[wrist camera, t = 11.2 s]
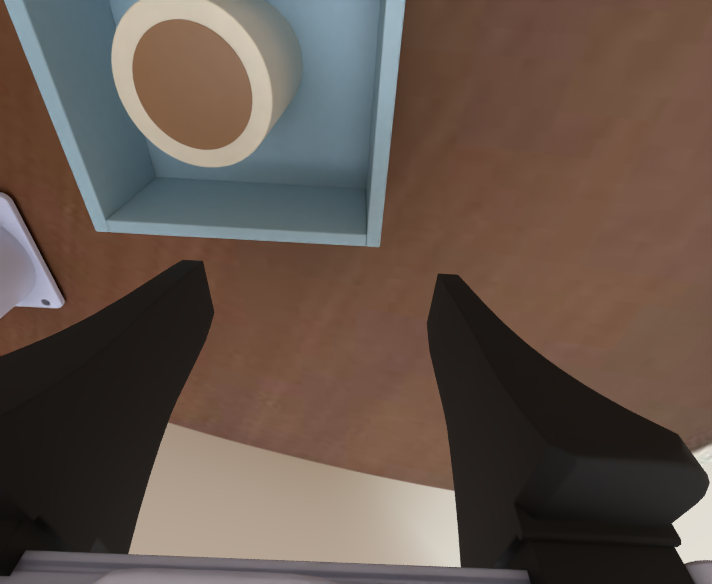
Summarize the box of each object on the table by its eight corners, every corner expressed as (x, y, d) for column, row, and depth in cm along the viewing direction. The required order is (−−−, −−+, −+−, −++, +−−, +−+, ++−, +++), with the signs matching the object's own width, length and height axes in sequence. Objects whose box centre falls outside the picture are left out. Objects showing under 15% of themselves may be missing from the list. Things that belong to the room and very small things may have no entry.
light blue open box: (151, 183, 21) (95, 231, 16) (58, -154, 13) (-89, -228, 9) (376, 196, 21) (379, 247, 17) (405, -128, 14) (425, -189, 9)
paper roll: (206, 113, 18) (136, 164, 13) (186, -10, 15) (84, -16, 10) (304, 119, 18) (277, 172, 13) (301, -2, 15) (265, -4, 10)
